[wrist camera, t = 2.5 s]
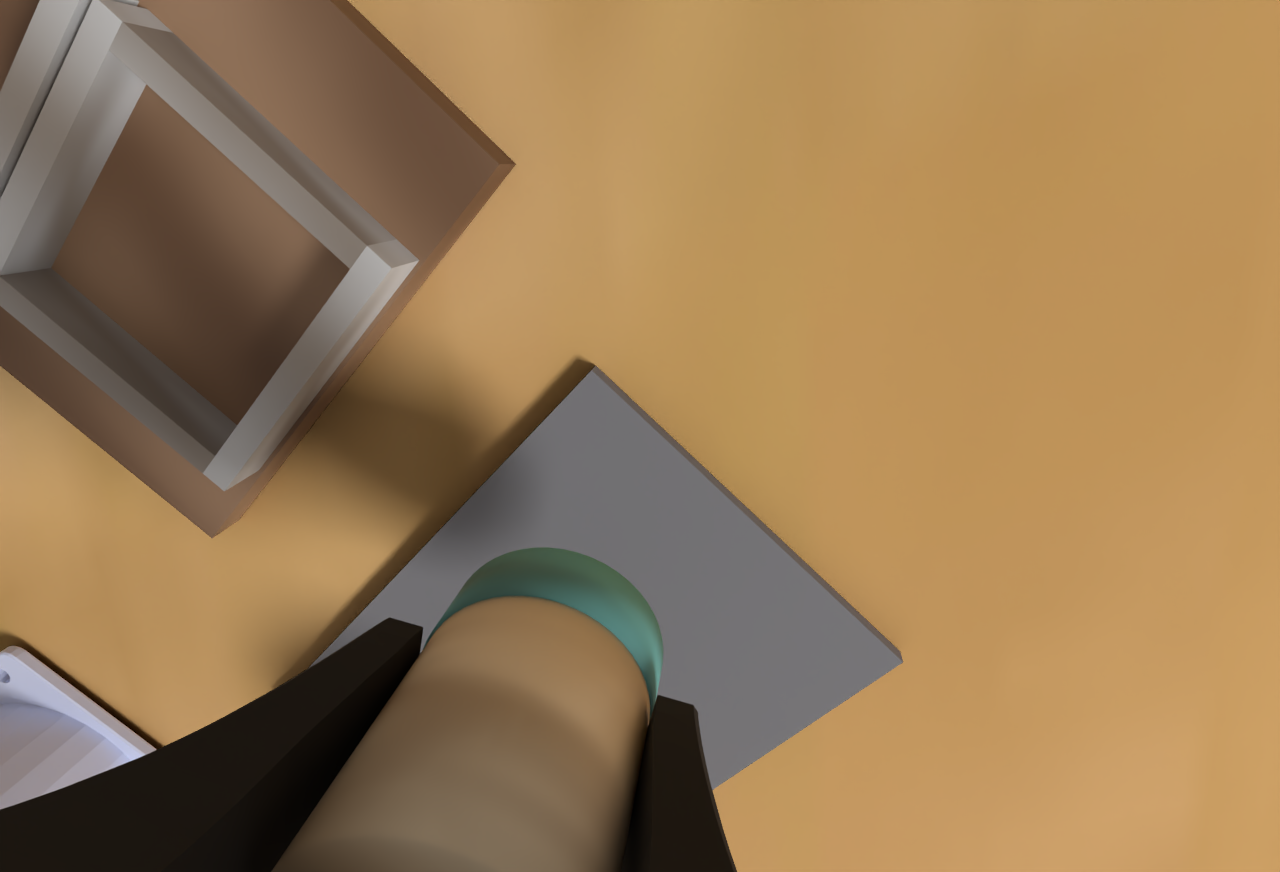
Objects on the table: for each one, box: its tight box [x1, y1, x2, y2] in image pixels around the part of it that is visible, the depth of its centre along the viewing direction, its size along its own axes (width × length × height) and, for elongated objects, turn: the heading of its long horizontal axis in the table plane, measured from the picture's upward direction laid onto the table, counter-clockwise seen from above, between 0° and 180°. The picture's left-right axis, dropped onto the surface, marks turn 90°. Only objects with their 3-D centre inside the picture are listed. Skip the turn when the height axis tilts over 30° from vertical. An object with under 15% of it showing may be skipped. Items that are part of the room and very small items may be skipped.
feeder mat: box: [309, 366, 903, 790], centre depth 19 cm, size 14×10×1 cm
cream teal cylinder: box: [271, 547, 664, 872], centre depth 11 cm, size 4×4×6 cm
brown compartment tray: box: [0, 0, 515, 538], centre depth 15 cm, size 12×14×2 cm
